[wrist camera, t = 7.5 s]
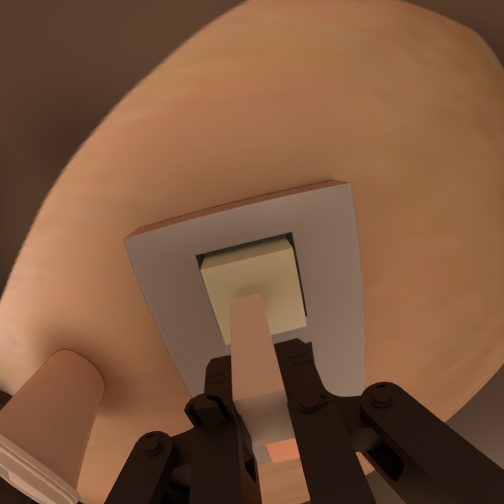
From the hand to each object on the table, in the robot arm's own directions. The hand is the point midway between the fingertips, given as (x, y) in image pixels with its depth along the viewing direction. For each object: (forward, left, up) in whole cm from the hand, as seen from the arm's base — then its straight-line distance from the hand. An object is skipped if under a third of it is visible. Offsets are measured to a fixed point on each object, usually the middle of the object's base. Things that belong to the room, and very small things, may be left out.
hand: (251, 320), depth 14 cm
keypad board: (0, -8, -7) cm, 10 cm away
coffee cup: (-20, -7, -7) cm, 22 cm away
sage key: (0, 0, -5) cm, 5 cm away
